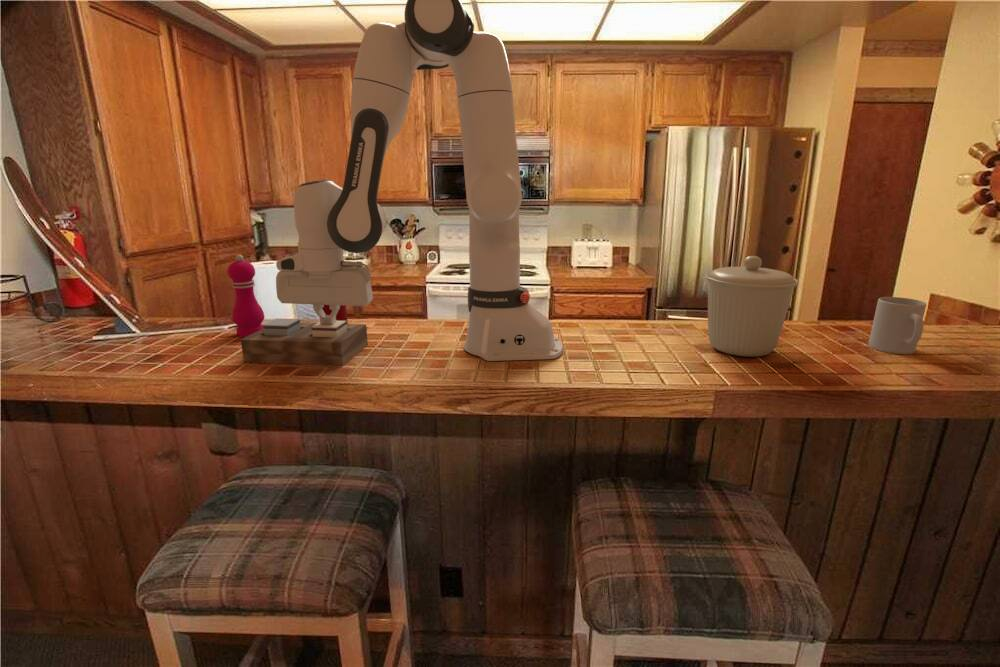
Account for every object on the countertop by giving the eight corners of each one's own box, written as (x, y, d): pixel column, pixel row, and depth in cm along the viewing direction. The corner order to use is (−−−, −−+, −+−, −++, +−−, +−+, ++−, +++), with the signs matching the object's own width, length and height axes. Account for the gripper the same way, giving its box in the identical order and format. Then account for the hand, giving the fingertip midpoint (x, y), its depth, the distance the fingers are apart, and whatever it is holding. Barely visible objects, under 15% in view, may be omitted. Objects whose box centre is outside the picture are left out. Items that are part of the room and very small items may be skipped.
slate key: (302, 340, 114) (299, 319, 113) (289, 347, 109) (286, 325, 108) (279, 339, 115) (276, 318, 113) (266, 347, 110) (262, 325, 108)
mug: (860, 342, 118) (869, 296, 115) (899, 343, 117) (910, 297, 113) (891, 359, 106) (902, 308, 103) (935, 360, 105) (948, 309, 102)
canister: (681, 341, 119) (691, 252, 113) (748, 336, 123) (761, 249, 117) (730, 366, 102) (744, 264, 96) (806, 360, 106) (824, 260, 100)
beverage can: (352, 325, 134) (347, 280, 131) (342, 332, 128) (337, 285, 124) (327, 324, 135) (323, 280, 131) (316, 331, 128) (311, 285, 125)
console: (367, 345, 117) (366, 324, 116) (343, 365, 104) (340, 342, 103) (279, 342, 120) (276, 322, 118) (244, 362, 106) (240, 339, 105)
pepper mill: (261, 328, 132) (249, 251, 126) (270, 333, 127) (259, 254, 121) (231, 333, 127) (218, 254, 121) (240, 339, 122) (226, 257, 116)
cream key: (348, 342, 113) (346, 320, 112) (338, 349, 108) (335, 327, 106) (325, 341, 114) (322, 320, 112) (313, 348, 108) (311, 326, 107)
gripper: (374, 259, 107) (379, 321, 111) (284, 257, 109) (291, 318, 113) (363, 264, 101) (368, 329, 105) (268, 261, 103) (276, 326, 107)
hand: (328, 323), depth 109 cm, fingers closed, pressing on cream key
